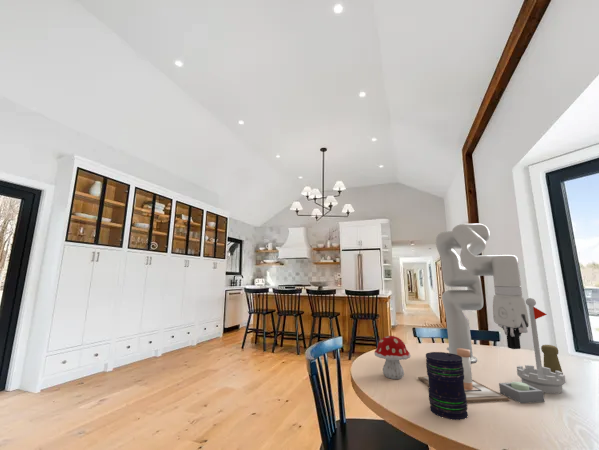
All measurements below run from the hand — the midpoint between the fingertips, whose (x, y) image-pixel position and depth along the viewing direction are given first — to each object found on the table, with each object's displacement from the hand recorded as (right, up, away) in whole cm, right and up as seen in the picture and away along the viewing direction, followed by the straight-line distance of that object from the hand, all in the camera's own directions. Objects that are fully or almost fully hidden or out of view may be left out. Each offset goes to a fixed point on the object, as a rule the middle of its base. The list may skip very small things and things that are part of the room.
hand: (514, 348), depth 96 cm
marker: (-15, -14, +2) cm, 21 cm away
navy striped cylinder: (-29, -13, -13) cm, 34 cm away
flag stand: (+13, -16, +5) cm, 21 cm away
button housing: (0, -14, -4) cm, 15 cm away
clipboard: (-16, -16, +4) cm, 23 cm away
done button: (0, -14, -4) cm, 14 cm away
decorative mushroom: (-35, -18, +17) cm, 43 cm away
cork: (+28, -18, +17) cm, 37 cm away
